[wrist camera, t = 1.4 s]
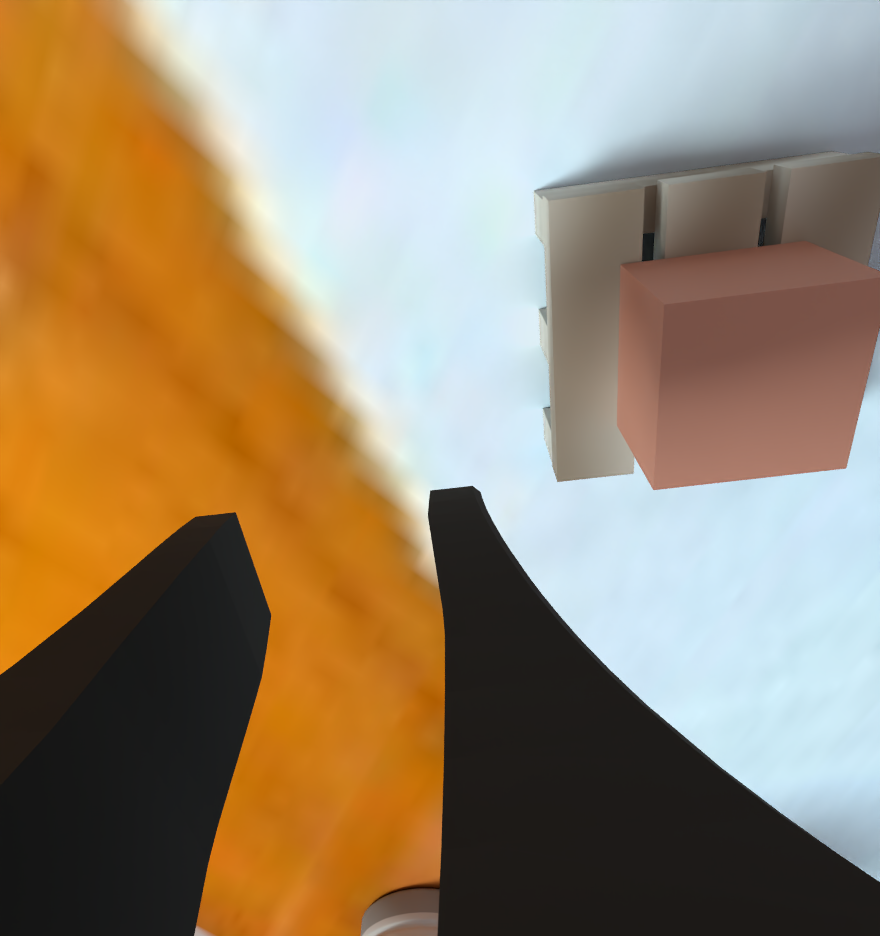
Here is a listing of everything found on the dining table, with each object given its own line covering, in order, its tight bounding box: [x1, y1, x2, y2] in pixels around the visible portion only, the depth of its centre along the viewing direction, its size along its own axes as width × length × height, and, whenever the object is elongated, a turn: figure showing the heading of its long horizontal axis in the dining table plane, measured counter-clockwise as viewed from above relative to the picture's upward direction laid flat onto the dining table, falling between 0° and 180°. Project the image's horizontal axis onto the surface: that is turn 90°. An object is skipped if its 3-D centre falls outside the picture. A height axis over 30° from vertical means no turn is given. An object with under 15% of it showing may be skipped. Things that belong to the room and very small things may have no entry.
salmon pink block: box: [617, 241, 880, 490], centre depth 14 cm, size 4×4×3 cm
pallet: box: [534, 151, 880, 482], centre depth 16 cm, size 7×7×2 cm
